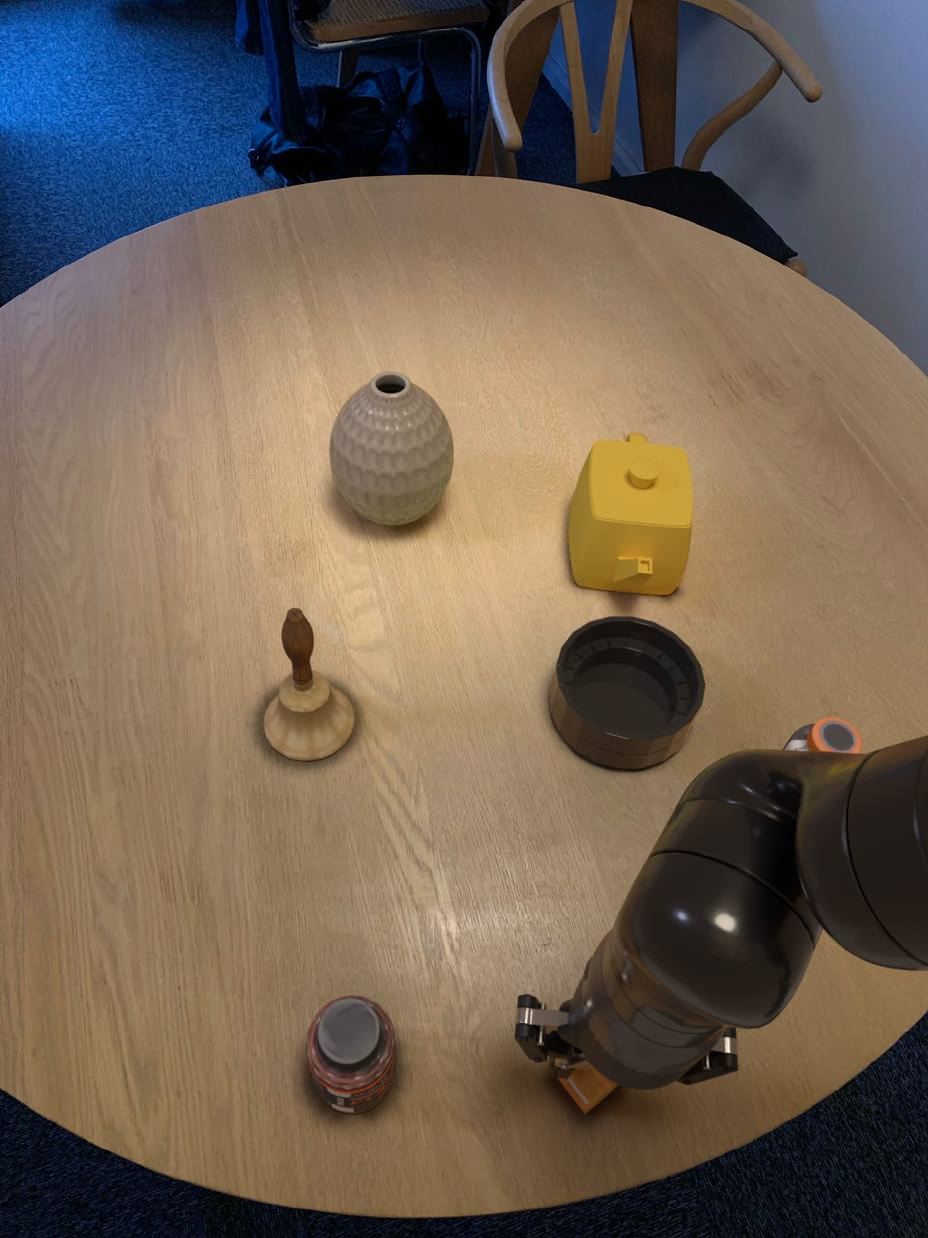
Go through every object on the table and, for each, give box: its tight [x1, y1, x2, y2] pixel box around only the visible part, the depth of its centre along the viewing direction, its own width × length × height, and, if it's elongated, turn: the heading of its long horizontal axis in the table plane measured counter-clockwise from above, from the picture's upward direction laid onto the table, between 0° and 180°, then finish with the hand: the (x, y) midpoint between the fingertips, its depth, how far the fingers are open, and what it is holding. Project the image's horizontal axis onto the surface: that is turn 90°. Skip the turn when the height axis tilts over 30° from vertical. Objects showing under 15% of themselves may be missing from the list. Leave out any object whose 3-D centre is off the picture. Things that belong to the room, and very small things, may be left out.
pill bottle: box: [781, 716, 863, 754], centre depth 79 cm, size 6×6×11 cm
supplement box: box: [556, 1068, 620, 1114], centre depth 64 cm, size 3×3×10 cm
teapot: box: [568, 432, 694, 596], centre depth 95 cm, size 20×12×12 cm, turn 175°
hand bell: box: [262, 607, 356, 762], centre depth 79 cm, size 8×8×16 cm
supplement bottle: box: [305, 994, 398, 1115], centre depth 64 cm, size 6×6×11 cm
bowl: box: [548, 615, 706, 769], centre depth 85 cm, size 13×13×6 cm
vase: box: [328, 371, 455, 527], centre depth 96 cm, size 13×13×17 cm
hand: (600, 1067), depth 64 cm, fingers closed on supplement box, 4 cm apart
